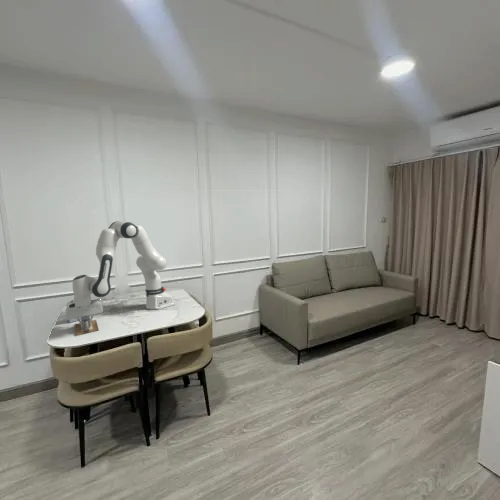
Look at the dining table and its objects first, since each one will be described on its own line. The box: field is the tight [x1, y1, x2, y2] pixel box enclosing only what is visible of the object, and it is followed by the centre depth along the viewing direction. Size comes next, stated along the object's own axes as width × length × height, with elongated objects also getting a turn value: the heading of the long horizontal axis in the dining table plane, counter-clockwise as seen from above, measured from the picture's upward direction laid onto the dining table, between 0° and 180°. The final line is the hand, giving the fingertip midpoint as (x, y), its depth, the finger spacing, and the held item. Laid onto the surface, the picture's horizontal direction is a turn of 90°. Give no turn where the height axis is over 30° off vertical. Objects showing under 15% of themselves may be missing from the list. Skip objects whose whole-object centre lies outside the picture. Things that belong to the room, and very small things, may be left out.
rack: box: [74, 319, 99, 337], centre depth 177 cm, size 12×19×7 cm, turn 32°
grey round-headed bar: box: [80, 315, 91, 329], centre depth 177 cm, size 5×12×5 cm, turn 33°
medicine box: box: [66, 317, 81, 324], centre depth 190 cm, size 8×4×9 cm, turn 141°
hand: (86, 322), depth 176 cm, fingers closed on grey round-headed bar, 4 cm apart
